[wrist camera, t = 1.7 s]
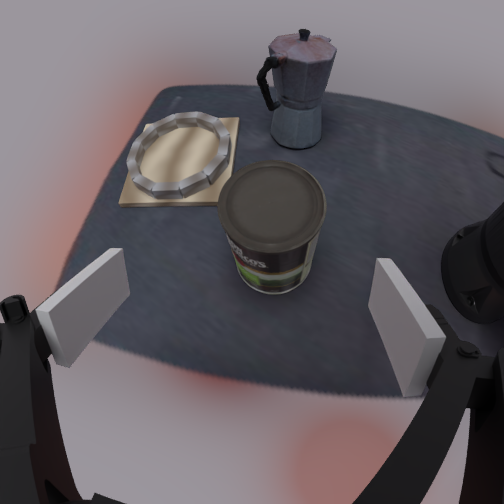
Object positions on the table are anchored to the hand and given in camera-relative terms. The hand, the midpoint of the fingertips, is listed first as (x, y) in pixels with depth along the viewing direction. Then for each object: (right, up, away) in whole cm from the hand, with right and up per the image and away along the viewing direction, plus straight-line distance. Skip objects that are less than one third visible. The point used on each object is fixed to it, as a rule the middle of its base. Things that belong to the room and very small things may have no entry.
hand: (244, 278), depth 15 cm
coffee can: (+3, 0, +27) cm, 27 cm away
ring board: (-11, +17, +35) cm, 40 cm away
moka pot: (+8, +21, +35) cm, 42 cm away
